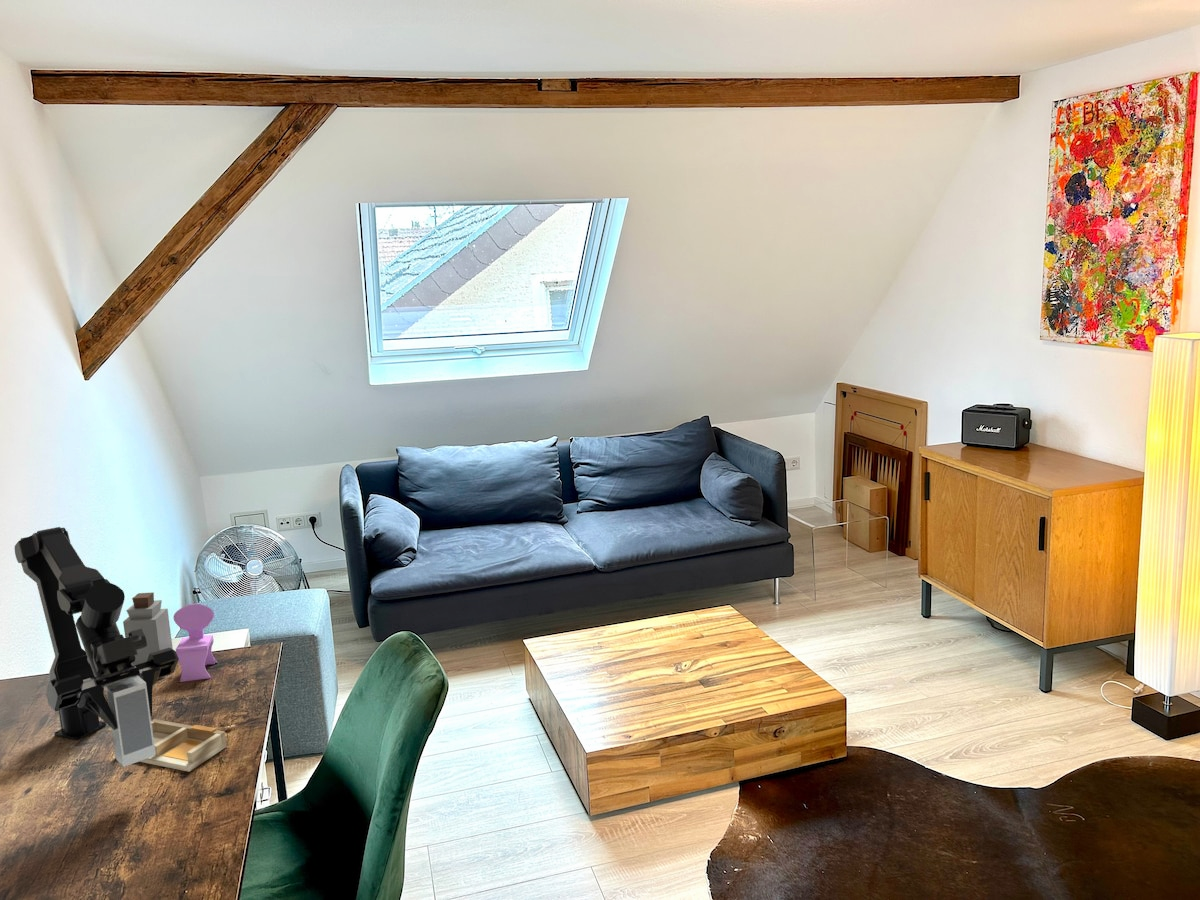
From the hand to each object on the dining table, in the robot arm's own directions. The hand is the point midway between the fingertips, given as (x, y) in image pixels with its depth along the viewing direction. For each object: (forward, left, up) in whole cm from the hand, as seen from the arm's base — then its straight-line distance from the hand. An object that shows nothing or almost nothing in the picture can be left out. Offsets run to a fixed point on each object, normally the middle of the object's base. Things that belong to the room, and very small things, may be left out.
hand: (133, 722), depth 149 cm
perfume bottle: (-39, +39, -14) cm, 57 cm away
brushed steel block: (-1, +1, -7) cm, 7 cm away
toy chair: (-29, +42, -14) cm, 53 cm away
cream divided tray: (-7, +13, -13) cm, 20 cm away
